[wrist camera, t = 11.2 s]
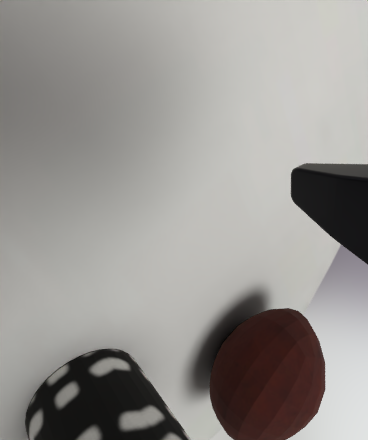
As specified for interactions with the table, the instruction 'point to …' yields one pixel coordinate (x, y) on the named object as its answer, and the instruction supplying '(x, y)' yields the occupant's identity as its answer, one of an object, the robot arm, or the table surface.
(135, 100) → the table surface
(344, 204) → the robot arm
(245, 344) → the potato
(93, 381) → the spotted tube
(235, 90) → the table surface
